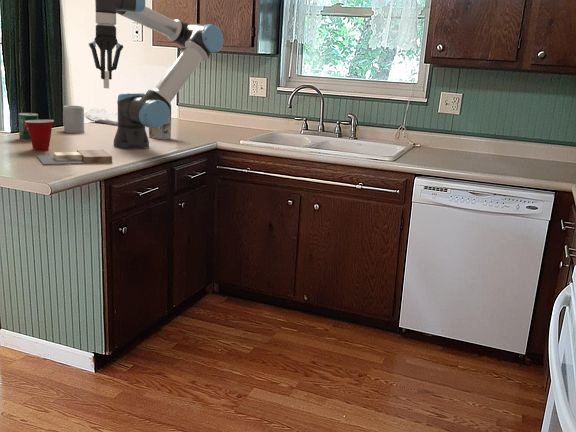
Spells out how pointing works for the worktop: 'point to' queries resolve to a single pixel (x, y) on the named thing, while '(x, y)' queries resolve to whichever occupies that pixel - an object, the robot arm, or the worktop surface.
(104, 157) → the walnut deck
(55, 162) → the rubber mat
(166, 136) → the coffee box
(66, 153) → the birch tile
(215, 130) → the worktop surface
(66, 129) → the cup
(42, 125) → the plastic cup
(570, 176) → the worktop surface
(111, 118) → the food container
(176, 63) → the robot arm
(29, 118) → the canned tomato
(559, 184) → the worktop surface
